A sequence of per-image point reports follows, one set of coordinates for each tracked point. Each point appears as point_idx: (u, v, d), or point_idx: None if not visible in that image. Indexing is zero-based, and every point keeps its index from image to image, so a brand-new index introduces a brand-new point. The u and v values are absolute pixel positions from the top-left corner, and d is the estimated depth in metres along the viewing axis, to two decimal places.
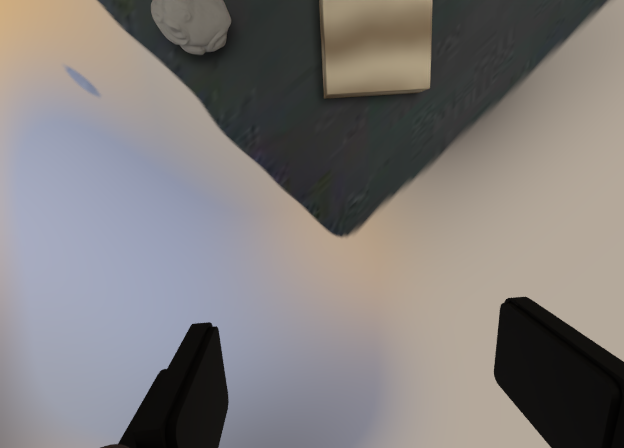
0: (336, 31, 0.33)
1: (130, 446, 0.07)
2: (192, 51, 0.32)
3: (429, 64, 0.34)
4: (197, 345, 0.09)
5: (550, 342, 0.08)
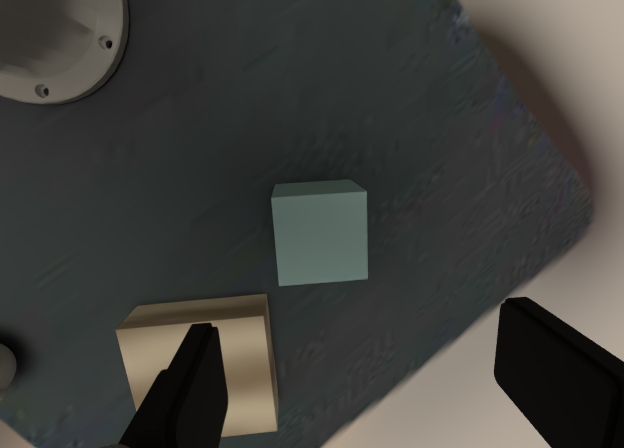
0: (145, 385, 0.26)
1: (130, 446, 0.07)
2: None
3: (273, 408, 0.27)
4: (197, 345, 0.09)
5: (550, 342, 0.08)
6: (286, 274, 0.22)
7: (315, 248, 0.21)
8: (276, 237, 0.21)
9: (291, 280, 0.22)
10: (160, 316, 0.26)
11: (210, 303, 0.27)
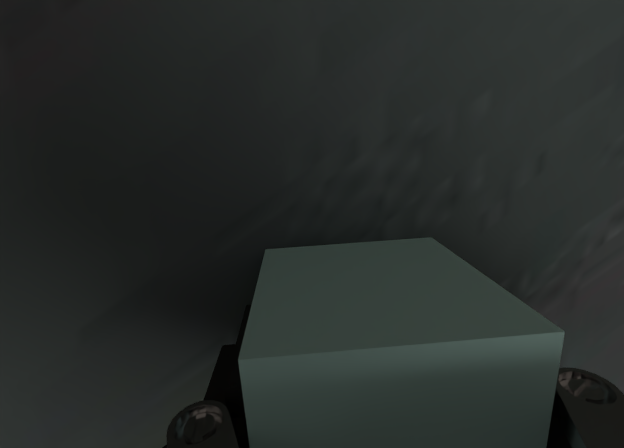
0: None
1: None
2: None
3: None
4: None
5: None
6: None
7: None
8: None
9: None
10: None
11: None
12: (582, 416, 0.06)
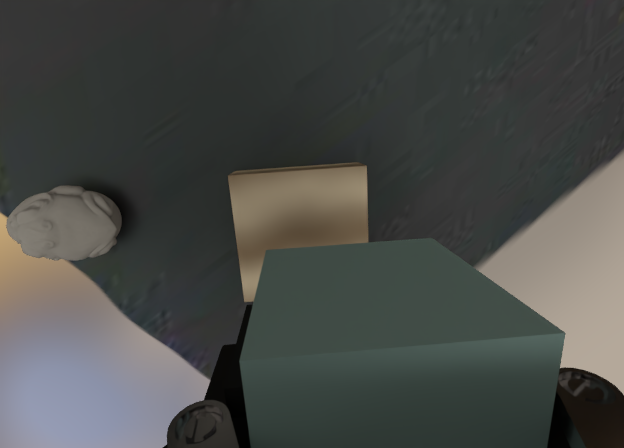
0: (250, 236, 0.27)
1: None
2: None
3: None
4: None
5: None
6: None
7: None
8: None
9: None
10: (264, 171, 0.27)
11: (306, 166, 0.29)
12: (582, 416, 0.06)
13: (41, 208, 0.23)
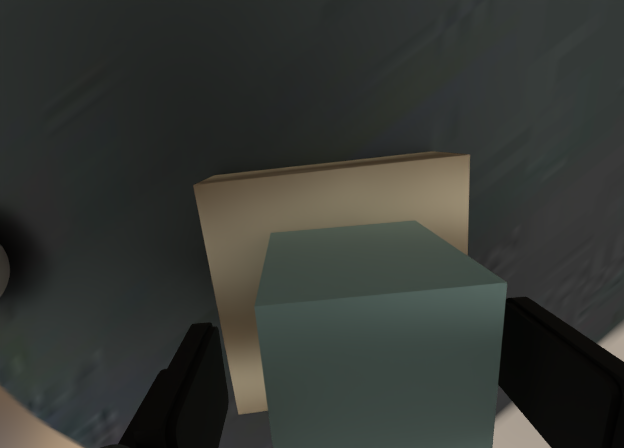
0: (244, 299, 0.14)
1: (130, 446, 0.07)
2: None
3: None
4: (197, 345, 0.09)
5: (550, 342, 0.08)
6: None
7: (369, 417, 0.09)
8: (271, 398, 0.08)
9: None
10: (266, 173, 0.14)
11: (343, 162, 0.16)
12: None
13: None
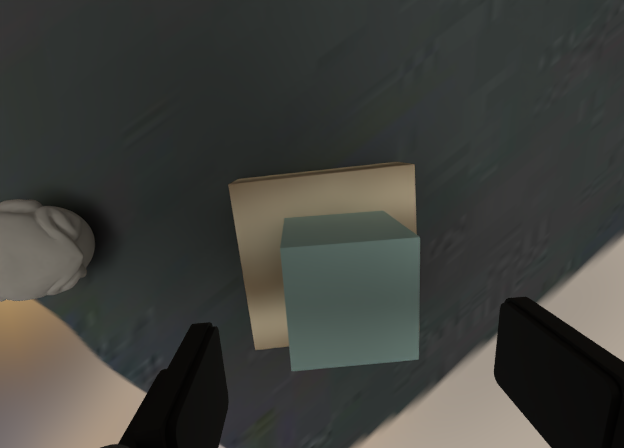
0: (260, 264, 0.20)
1: (130, 446, 0.07)
2: None
3: None
4: (197, 345, 0.09)
5: (550, 342, 0.08)
6: (302, 355, 0.15)
7: (344, 318, 0.15)
8: (287, 304, 0.14)
9: (309, 362, 0.15)
10: (277, 177, 0.20)
11: (331, 169, 0.22)
12: None
13: None
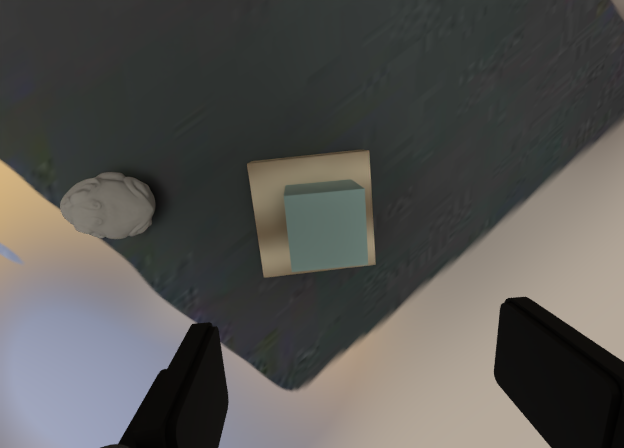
0: (267, 217, 0.30)
1: (130, 446, 0.07)
2: (113, 238, 0.30)
3: (373, 242, 0.31)
4: (197, 345, 0.09)
5: (550, 342, 0.08)
6: (297, 261, 0.25)
7: (322, 238, 0.25)
8: (288, 230, 0.24)
9: (302, 266, 0.25)
10: (278, 159, 0.30)
11: (315, 154, 0.32)
12: None
13: (91, 190, 0.26)
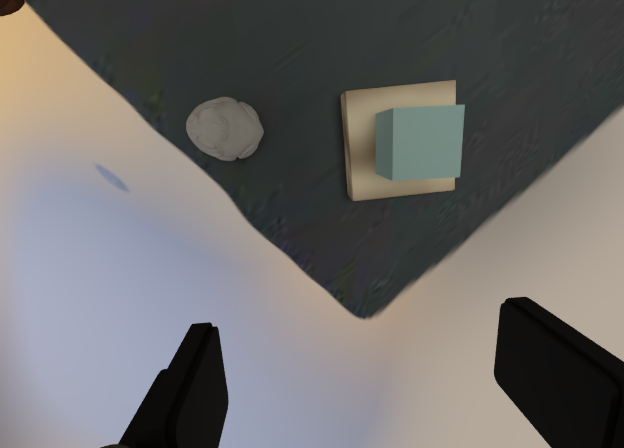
0: (361, 143, 0.33)
1: (130, 446, 0.07)
2: (225, 160, 0.33)
3: None
4: (197, 345, 0.09)
5: (550, 342, 0.08)
6: (398, 171, 0.28)
7: (422, 150, 0.28)
8: (394, 140, 0.27)
9: (402, 176, 0.28)
10: None
11: None
12: None
13: (217, 108, 0.29)
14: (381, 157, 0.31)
